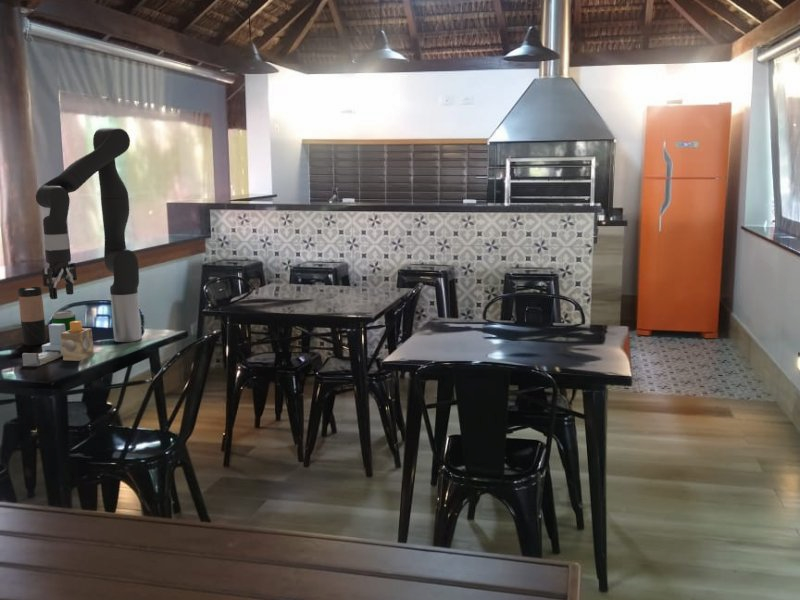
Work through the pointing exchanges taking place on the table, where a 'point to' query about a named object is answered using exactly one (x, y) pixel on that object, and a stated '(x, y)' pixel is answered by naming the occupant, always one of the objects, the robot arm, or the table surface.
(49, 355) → the rail
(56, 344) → the carriage
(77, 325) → the orange rounded piece
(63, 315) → the soda can
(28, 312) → the travel mug
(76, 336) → the open wooden box
